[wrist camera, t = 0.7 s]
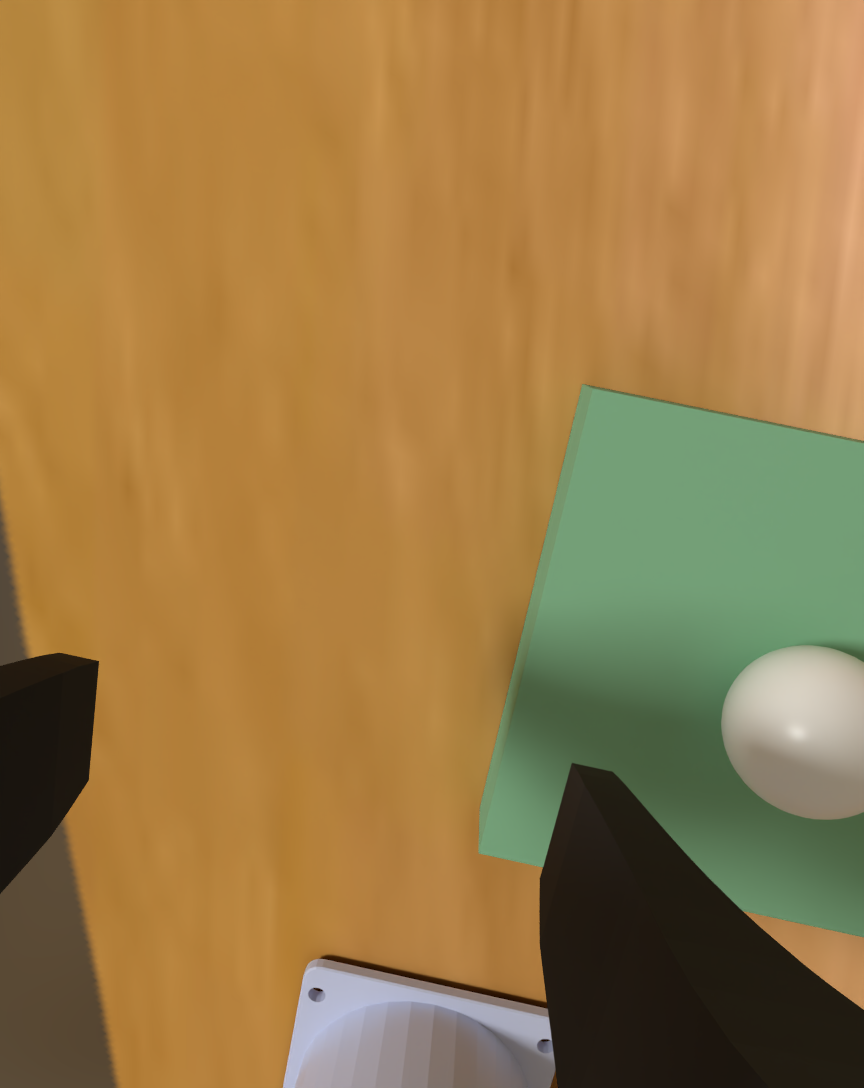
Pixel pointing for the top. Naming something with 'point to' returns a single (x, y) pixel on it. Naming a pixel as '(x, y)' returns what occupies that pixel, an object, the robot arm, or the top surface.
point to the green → (684, 639)
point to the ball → (800, 730)
